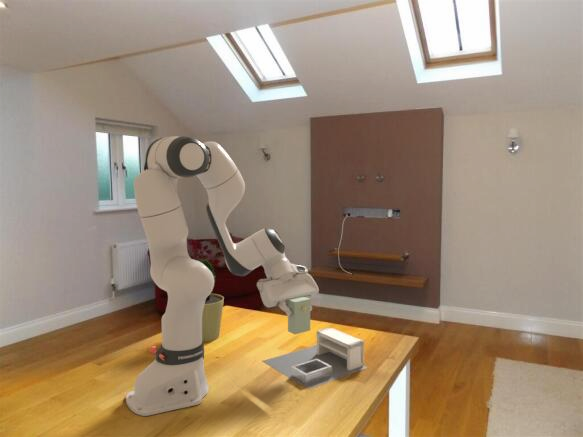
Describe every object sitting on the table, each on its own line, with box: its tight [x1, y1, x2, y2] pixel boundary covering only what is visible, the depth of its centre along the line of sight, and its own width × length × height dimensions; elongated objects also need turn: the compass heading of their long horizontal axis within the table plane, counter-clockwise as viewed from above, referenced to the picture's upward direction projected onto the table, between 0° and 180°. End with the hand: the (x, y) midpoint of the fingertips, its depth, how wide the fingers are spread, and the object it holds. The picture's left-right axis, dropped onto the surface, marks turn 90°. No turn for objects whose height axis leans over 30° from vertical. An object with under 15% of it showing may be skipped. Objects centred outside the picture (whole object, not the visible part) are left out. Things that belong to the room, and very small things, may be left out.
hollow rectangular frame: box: [291, 359, 332, 385], centre depth 138 cm, size 10×7×3 cm
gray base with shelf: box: [262, 327, 369, 390], centre depth 146 cm, size 24×24×9 cm
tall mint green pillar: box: [287, 297, 311, 335], centre depth 141 cm, size 6×4×10 cm
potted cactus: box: [196, 259, 225, 343], centre depth 172 cm, size 15×15×30 cm
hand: (300, 312), depth 141 cm, fingers closed on tall mint green pillar, 6 cm apart
